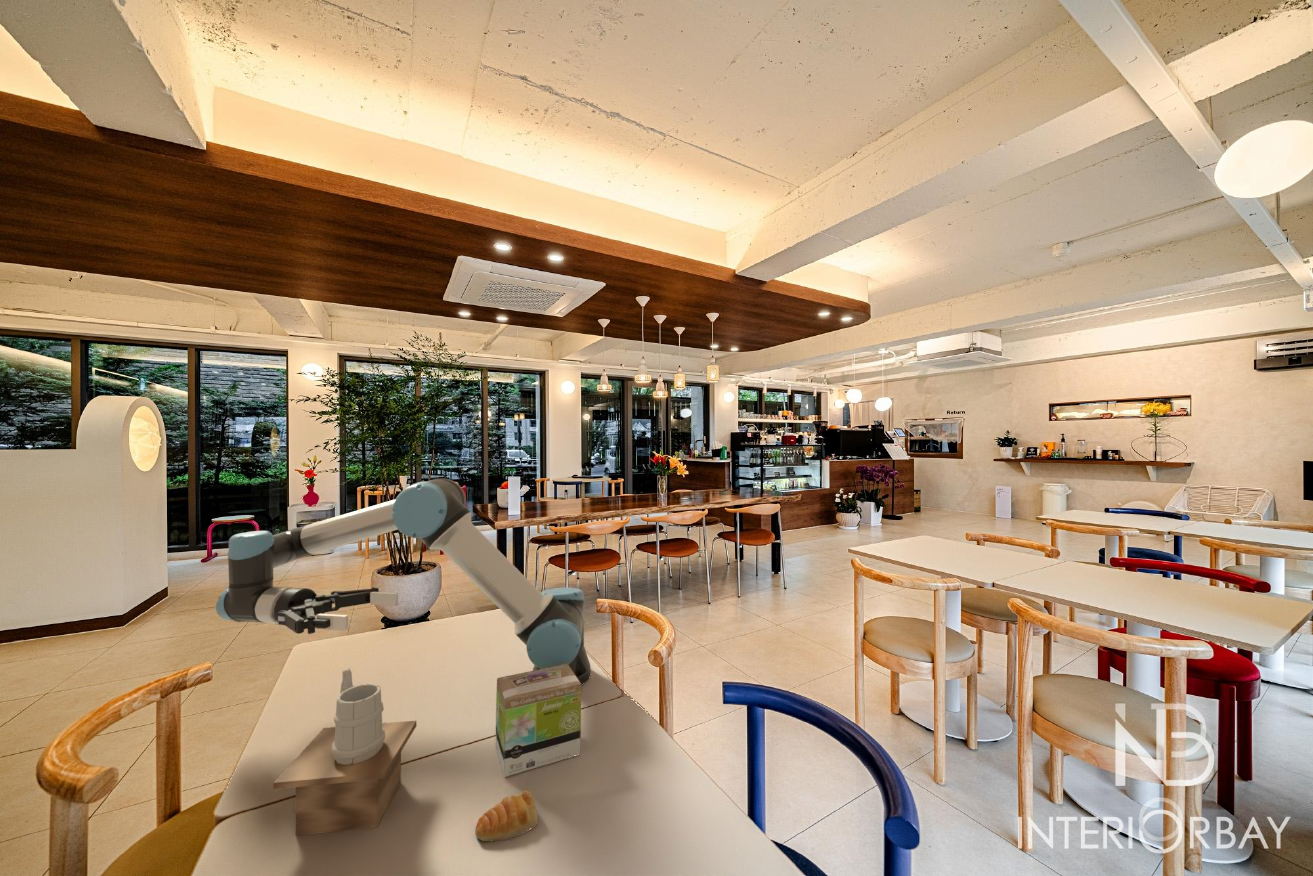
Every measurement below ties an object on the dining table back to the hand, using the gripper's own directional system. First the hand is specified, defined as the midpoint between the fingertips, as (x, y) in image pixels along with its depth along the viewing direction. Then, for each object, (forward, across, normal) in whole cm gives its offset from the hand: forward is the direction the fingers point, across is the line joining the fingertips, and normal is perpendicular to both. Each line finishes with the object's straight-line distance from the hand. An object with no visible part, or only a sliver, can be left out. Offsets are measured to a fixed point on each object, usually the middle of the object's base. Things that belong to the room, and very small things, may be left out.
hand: (373, 610), depth 99 cm
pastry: (+39, +15, -28) cm, 50 cm away
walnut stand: (+10, +17, -27) cm, 33 cm away
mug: (+10, +16, -17) cm, 26 cm away
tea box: (+35, -2, -28) cm, 45 cm away
